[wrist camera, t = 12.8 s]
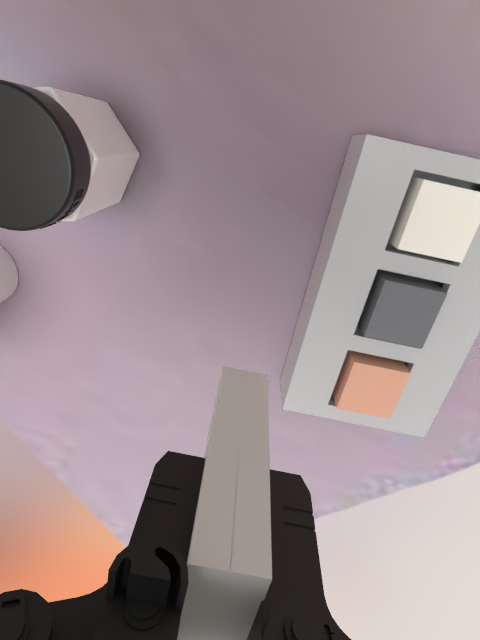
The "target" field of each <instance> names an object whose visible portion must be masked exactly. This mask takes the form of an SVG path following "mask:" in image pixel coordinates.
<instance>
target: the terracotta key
mask: <svg viewBox="0 0 480 640" xmlns="http://www.w3.org/2000/svg"><path fill="white" fill-rule="evenodd" d="M410 374H411V373H410V372H409V370H408V368H407V367H406V365H405V364H404V362H403V361H399V360H394V359H390V358H385V357H380V356H375V355H370V354H365V353H360V352H356V351H351V350H348V351H347V354H346V357H345V360H344V362H343V365H342V368H341V370H340V373H339V376H338V379H337V381H336V384H335V387H334V390H333V392H332V394H333V397H334V401H335V405H336V408H337V409H341V410H346V411H351V412H356V413H361V414H366V415H371V416H376V417H381V418H386V419H390V418H391V416H392V413H393V411H394V409H395V407H396V405H397V403H398V400H399V398H400V396H401V394H402V392H403V390H404V387H405V385H406V383H407V381H408V379H409V376H410Z"/></svg>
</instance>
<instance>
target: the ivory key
mask: <svg viewBox="0 0 480 640" xmlns="http://www.w3.org/2000/svg"><path fill="white" fill-rule="evenodd" d="M479 224H480V192H478V191H474V190H469V189H465V188H460V187H456V186H451V185H447V184H442V183H438V182H433V181H429V180H424V179H420V178H416V177H411V180H410V183H409V185H408V188H407V191H406V194H405V196H404V199H403V202H402V204H401V207H400V210H399V213H398V215H397V218H396V221H395V224H394V226H393V229H392V232H391V234H390V237H389V240H388V242H389V243H390V244H392V245H393V246H394V247H395V248H397V249H400V250H404V251H409V252H414V253H418V254H423V255H427V256H432V257H437V258H441V259H446V260H450V261H455V262H460V263H462V261H463V259H464V257H465V255H466V252H467V250H468V248H469V246H470V244H471V241H472V239H473V237H474V235H475V233H476V231H477V228H478V226H479Z"/></svg>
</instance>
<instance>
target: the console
mask: <svg viewBox="0 0 480 640" xmlns="http://www.w3.org/2000/svg"><path fill="white" fill-rule="evenodd" d="M411 177H416V178H420V179H424V180H429V181H433V182H438V183H442V184H447V185H451V186H456V187H460V188H465V189H469V190H474V191H478V192H480V160H479V159H475V158H470V157H466V156H462V155H457V154H453V153H448V152H444V151H440V150H435V149H431V148H426V147H422V146H418V145H413V144H409V143H404V142H400V141H396V140H391V139H387V138H382V137H378V136H374V135H369V134H362V135H352V137H351V140H350V143H349V147H348V150H347V154H346V157H345V160H344V164H343V167H342V171H341V174H340V178H339V181H338V184H337V188H336V191H335V195H334V198H333V201H332V205H331V208H330V212H329V215H328V218H327V222H326V225H325V229H324V232H323V235H322V239H321V242H320V246H319V249H318V253H317V256H316V259H315V263H314V266H313V270H312V273H311V276H310V280H309V283H308V287H307V290H306V293H305V297H304V300H303V304H302V307H301V310H300V314H299V317H298V321H297V324H296V327H295V331H294V334H293V338H292V341H291V345H290V348H289V351H288V355H287V358H286V362H285V365H284V368H283V372H282V375H281V379H280V385H281V399H282V409H284V410H289V411H294V412H299V413H304V414H309V415H314V416H319V417H324V418H329V419H334V420H339V421H344V422H349V423H354V424H359V425H364V426H369V427H374V428H379V429H384V430H389V431H394V432H399V433H404V434H409V435H414V436H419V437H425V435H426V433H427V431H428V430H429V428H430V426H431V424H432V422H433V420H434V418H435V416H436V414H437V412H438V410H439V408H440V406H441V405H442V403H443V401H444V399H445V397H446V395H447V393H448V391H449V389H450V387H451V385H452V383H453V381H454V380H455V378H456V376H457V374H458V372H459V370H460V368H461V366H462V364H463V362H464V360H465V358H466V356H467V355H468V353H469V351H470V349H471V347H472V345H473V343H474V341H475V339H476V337H477V335H478V333H479V331H480V224H479V226H478V228H477V231H476V233H475V235H474V237H473V239H472V241H471V244H470V246H469V248H468V250H467V252H466V255H465V257H464V259H463V261H462V263H460V262H455V261H450V260H446V259H441V258H437V257H432V256H427V255H423V254H418V253H414V252H409V251H404V250H400V249H397V248H395V247H394V246H393V245H392V244H390V243H389V242H388V240H389V237H390V234H391V232H392V229H393V226H394V224H395V221H396V218H397V215H398V213H399V210H400V207H401V204H402V202H403V199H404V196H405V194H406V191H407V188H408V185H409V183H410V180H411ZM378 269H379V270H383V271H388V272H393V273H397V274H402V275H407V276H411V277H416V278H421V279H425V280H430V281H433V282H434V283H435V284H437V285H438V286H439V287H440V288H442V289H443V290H444V291H445V292H446V293H448V294H447V296H446V298H445V300H444V302H443V305H442V307H441V309H440V311H439V313H438V315H437V318H436V320H435V322H434V324H433V326H432V329H431V331H430V333H429V335H428V337H427V339H426V342H425V344H424V346H423V348H417V347H412V346H407V345H403V344H398V343H393V342H388V341H383V340H378V339H374V338H369V337H364V335H363V334H362V332H361V330H360V328H359V326H358V322H359V319H360V316H361V313H362V311H363V308H364V305H365V302H366V300H367V297H368V294H369V292H370V289H371V286H372V283H373V281H374V278H375V275H376V273H377V270H378ZM348 350H351V351H356V352H360V353H365V354H370V355H375V356H380V357H385V358H390V359H394V360H399V361H403V362H404V364H405V365H406V367H407V368H408V370H409V372H410V373H411V374H410V376H409V379H408V381H407V383H406V385H405V387H404V390H403V392H402V394H401V396H400V398H399V400H398V403H397V405H396V407H395V409H394V411H393V413H392V416H391V418H390V419H386V418H381V417H376V416H371V415H366V414H361V413H356V412H351V411H346V410H341V409H337V408H336V405H335V401H334V397H333V394H332V392H333V390H334V387H335V384H336V381H337V379H338V376H339V373H340V370H341V368H342V365H343V362H344V360H345V357H346V354H347V351H348Z"/></svg>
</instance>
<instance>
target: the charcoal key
mask: <svg viewBox="0 0 480 640" xmlns="http://www.w3.org/2000/svg"><path fill="white" fill-rule="evenodd" d="M447 294H448V293H446V292H445V291H444V290H443V289H442V288H440V287H439V286H438V285H437V284H435V283H434V282H433V281H430V280H425V279H421V278H416V277H411V276H407V275H402V274H397V273H393V272H388V271H383V270H379V269H378V270H377V273H376V275H375V278H374V281H373V283H372V286H371V289H370V292H369V294H368V297H367V300H366V302H365V305H364V308H363V311H362V313H361V316H360V319H359V322H358V326H359V328H360V330H361V332H362V334H363V335H364V337H369V338H374V339H378V340H383V341H388V342H393V343H398V344H403V345H407V346H412V347H417V348H423V346H424V344H425V342H426V339H427V337H428V335H429V333H430V331H431V329H432V326H433V324H434V322H435V320H436V318H437V315H438V313H439V311H440V309H441V307H442V305H443V302H444V300H445V298H446V296H447Z"/></svg>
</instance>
